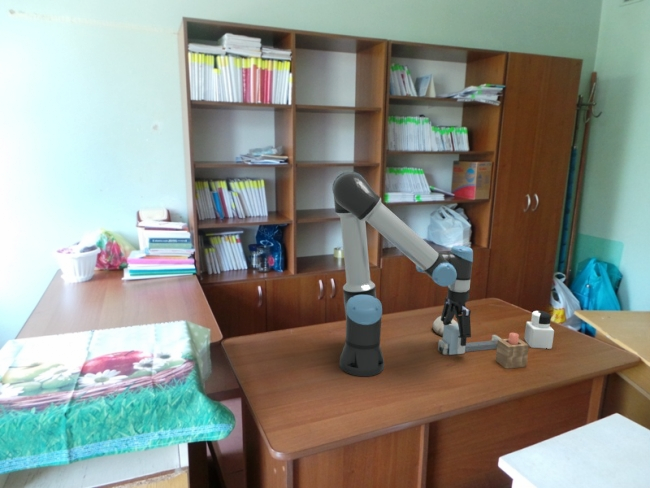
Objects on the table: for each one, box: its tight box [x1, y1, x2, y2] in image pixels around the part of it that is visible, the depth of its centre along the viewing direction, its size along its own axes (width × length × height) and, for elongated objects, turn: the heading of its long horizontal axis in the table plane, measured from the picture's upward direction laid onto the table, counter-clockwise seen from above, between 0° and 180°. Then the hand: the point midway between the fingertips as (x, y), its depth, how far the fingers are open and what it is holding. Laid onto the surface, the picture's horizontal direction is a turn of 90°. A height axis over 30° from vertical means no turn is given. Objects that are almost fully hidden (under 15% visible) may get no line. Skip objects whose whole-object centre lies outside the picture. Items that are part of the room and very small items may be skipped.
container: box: [524, 310, 555, 350], centre depth 171 cm, size 8×8×13 cm
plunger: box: [508, 331, 520, 345], centre depth 155 cm, size 3×3×8 cm
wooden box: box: [495, 338, 530, 370], centre depth 155 cm, size 8×6×8 cm
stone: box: [432, 315, 458, 337], centre depth 182 cm, size 13×10×8 cm
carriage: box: [442, 325, 460, 356], centre depth 164 cm, size 6×6×9 cm
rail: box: [437, 334, 502, 355], centre depth 166 cm, size 24×4×4 cm, turn 104°
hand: (453, 347), depth 164 cm, fingers open, 9 cm apart
